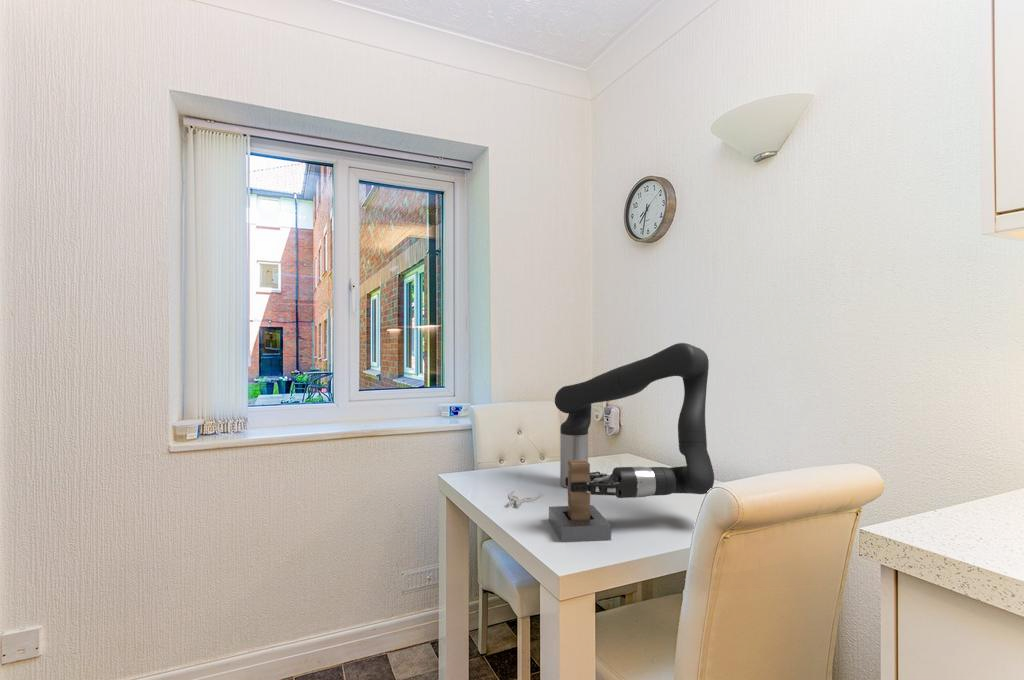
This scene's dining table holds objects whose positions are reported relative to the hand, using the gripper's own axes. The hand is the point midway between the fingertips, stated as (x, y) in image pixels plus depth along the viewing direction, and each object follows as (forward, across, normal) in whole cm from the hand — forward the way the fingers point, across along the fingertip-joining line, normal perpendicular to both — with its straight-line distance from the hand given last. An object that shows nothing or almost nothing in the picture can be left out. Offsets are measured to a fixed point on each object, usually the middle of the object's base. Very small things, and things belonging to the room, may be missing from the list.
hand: (568, 484), depth 121 cm
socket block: (-2, 0, +11) cm, 12 cm away
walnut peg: (-3, 0, +8) cm, 9 cm away
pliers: (+9, -25, +12) cm, 29 cm away
